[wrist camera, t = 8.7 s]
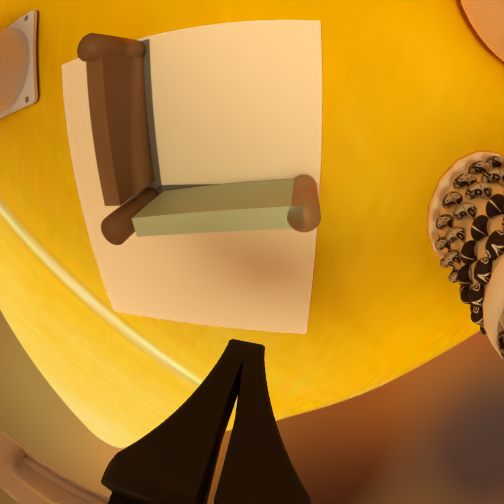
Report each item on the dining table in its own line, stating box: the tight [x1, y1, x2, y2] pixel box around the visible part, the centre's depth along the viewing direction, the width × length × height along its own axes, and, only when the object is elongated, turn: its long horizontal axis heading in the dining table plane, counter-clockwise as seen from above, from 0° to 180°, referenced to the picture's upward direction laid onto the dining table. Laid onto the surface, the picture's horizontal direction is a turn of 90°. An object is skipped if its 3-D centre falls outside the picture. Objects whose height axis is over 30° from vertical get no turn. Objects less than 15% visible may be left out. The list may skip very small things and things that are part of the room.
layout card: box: [61, 20, 322, 334], centre depth 18 cm, size 16×20×1 cm
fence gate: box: [132, 175, 321, 237], centre depth 15 cm, size 9×1×4 cm, turn 98°
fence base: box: [77, 33, 160, 245], centre depth 14 cm, size 2×11×4 cm, turn 2°
